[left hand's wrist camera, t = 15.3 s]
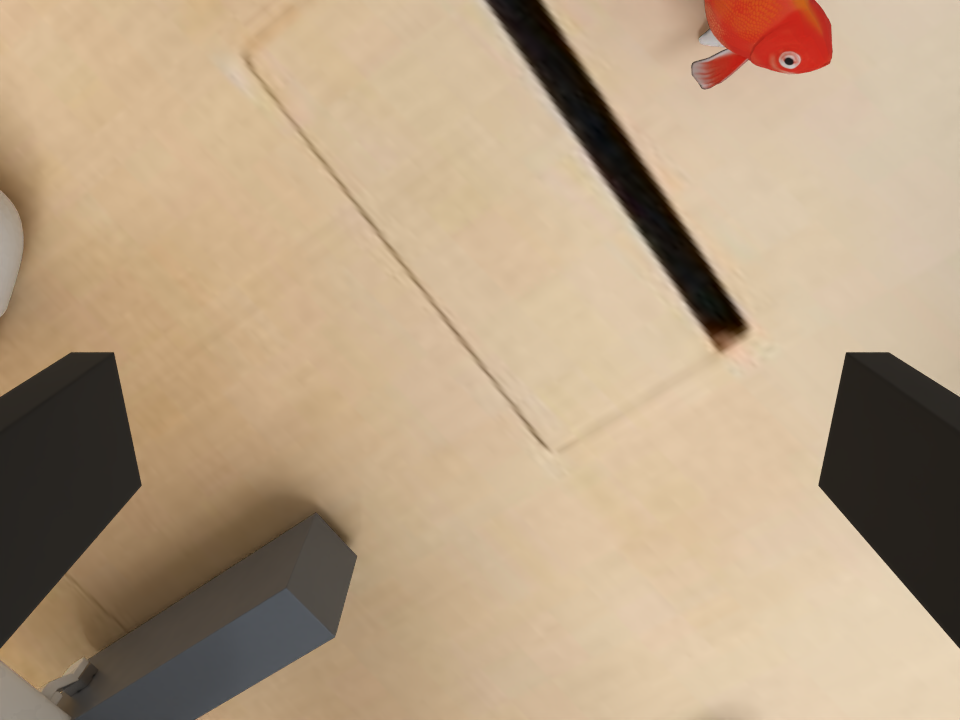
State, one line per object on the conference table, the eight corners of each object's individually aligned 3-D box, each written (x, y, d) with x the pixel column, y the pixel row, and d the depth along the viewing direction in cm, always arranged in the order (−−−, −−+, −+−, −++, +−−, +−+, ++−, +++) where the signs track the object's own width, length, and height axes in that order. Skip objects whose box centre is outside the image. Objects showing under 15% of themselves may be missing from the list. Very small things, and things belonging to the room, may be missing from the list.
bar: (316, 511, 49) (286, 587, 41) (357, 555, 50) (335, 637, 43) (81, 663, 54) (16, 755, 46) (125, 699, 55) (68, 794, 48)
